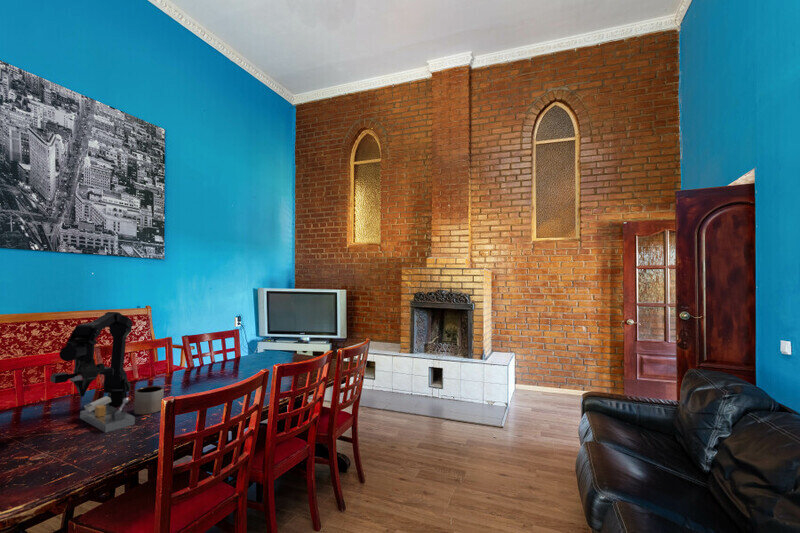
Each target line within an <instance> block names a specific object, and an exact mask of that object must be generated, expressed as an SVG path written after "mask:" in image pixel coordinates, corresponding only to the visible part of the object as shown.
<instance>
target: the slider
mask: <svg viewBox="0 0 800 533" xmlns="http://www.w3.org/2000/svg"><path fill="white" fill-rule="evenodd" d="M105 413H106V405H105V406H103V405H100V406H96V407H95V416H97V417H101V416H105Z"/></svg>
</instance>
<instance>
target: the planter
mask: <svg viewBox="0 0 800 533" xmlns="http://www.w3.org/2000/svg"><path fill="white" fill-rule="evenodd" d="M164 388H165V387H163V386H160V385H153V386H152V385H149V386H144V387H140V388H137V389H136V390H135V391H134V404H133V412H134V414H136V415H140V416H143V415H144V416H146V415H152V413H153V414H156V412H157V413H158V411H159V412H161V411H162V410H161V400H162V399H163V400H164V391H165V390H164Z"/></svg>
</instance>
